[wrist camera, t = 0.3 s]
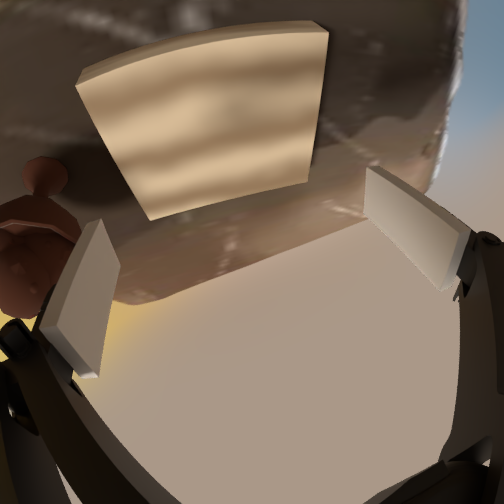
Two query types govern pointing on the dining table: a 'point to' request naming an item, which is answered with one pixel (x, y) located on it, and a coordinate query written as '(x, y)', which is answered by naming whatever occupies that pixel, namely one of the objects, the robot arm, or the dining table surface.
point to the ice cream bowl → (34, 239)
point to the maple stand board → (210, 112)
